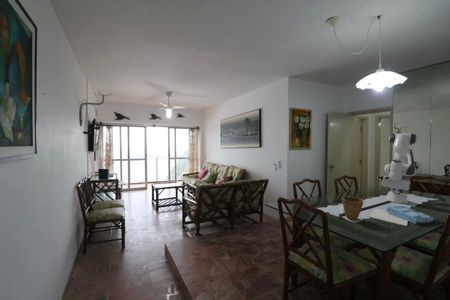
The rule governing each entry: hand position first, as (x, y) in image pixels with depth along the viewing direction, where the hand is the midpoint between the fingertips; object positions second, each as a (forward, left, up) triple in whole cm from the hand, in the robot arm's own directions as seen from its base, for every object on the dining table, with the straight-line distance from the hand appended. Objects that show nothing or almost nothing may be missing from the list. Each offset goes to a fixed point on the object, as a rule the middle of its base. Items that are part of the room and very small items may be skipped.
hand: (393, 192), depth 193 cm
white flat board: (+22, 0, -16) cm, 28 cm away
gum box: (+6, +2, -13) cm, 14 cm away
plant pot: (+51, -22, -17) cm, 58 cm away
